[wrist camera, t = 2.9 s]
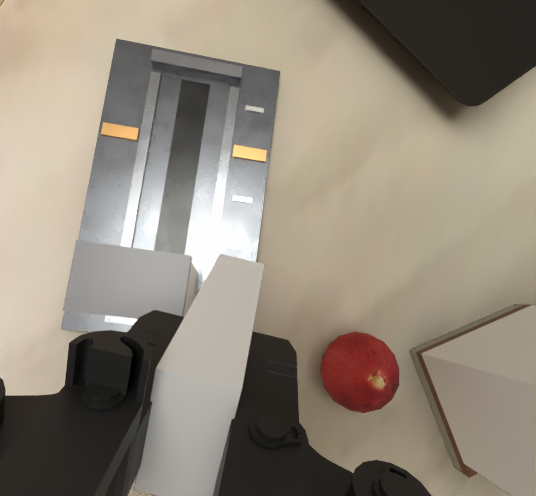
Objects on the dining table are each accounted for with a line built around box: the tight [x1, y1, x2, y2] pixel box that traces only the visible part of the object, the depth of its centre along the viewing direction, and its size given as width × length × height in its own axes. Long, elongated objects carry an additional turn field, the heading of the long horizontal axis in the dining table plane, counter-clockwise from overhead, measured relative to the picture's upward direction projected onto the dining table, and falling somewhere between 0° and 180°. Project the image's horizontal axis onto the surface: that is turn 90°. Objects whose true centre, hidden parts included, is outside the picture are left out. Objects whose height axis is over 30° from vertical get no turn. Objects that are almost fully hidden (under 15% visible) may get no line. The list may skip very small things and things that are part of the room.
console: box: [61, 39, 280, 332], centre depth 32 cm, size 24×14×3 cm, turn 173°
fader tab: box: [63, 240, 198, 319], centre depth 24 cm, size 3×5×13 cm, turn 83°
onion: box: [321, 332, 399, 413], centre depth 30 cm, size 6×6×8 cm
